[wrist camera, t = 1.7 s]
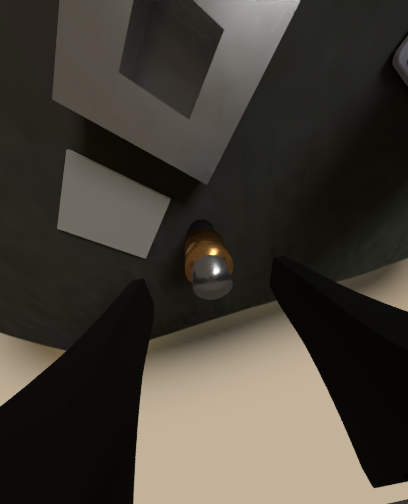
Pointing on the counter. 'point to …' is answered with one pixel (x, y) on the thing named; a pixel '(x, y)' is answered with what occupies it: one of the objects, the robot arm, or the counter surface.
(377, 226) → the counter surface
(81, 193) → the mat
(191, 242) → the amber medicine bottle
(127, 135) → the block
